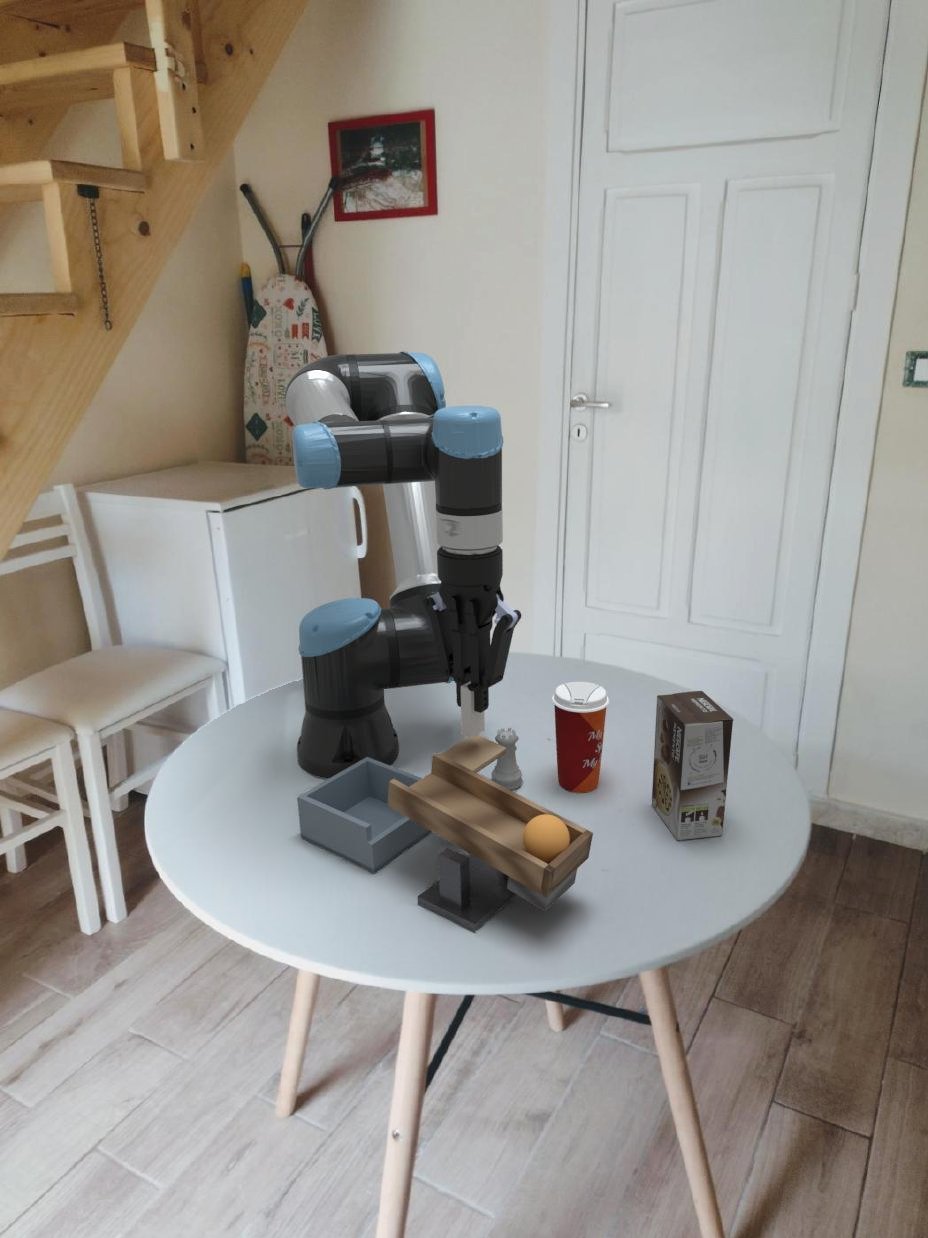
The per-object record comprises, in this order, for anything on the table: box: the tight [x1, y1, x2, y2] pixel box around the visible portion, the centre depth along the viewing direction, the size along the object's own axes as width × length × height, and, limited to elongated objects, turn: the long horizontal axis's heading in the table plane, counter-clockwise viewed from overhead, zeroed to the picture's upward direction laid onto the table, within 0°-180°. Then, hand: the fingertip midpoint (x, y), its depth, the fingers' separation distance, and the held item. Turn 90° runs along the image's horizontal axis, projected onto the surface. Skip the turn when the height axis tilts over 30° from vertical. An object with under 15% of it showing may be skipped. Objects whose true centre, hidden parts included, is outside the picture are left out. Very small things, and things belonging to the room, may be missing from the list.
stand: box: [417, 847, 518, 933], centre depth 100 cm, size 8×15×7 cm, turn 142°
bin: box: [296, 757, 433, 874], centre depth 110 cm, size 13×13×6 cm
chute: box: [388, 733, 594, 912], centre depth 101 cm, size 22×16×6 cm
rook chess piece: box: [490, 727, 524, 791], centre depth 121 cm, size 4×4×8 cm
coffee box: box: [651, 690, 735, 841], centre depth 110 cm, size 9×6×16 cm
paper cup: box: [551, 681, 610, 794], centre depth 120 cm, size 8×8×14 cm
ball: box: [523, 814, 570, 863], centre depth 93 cm, size 5×5×5 cm
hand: (473, 732), depth 107 cm, fingers closed
